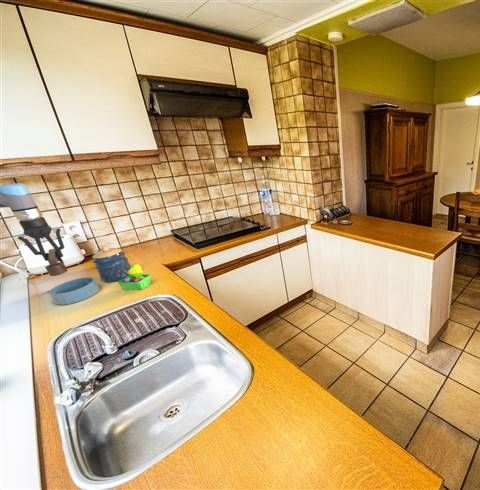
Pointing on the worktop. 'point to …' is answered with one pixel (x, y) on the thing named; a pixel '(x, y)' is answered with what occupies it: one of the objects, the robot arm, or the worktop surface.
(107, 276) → the canister
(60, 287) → the bowl
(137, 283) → the fruit basket
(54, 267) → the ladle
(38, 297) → the worktop surface
